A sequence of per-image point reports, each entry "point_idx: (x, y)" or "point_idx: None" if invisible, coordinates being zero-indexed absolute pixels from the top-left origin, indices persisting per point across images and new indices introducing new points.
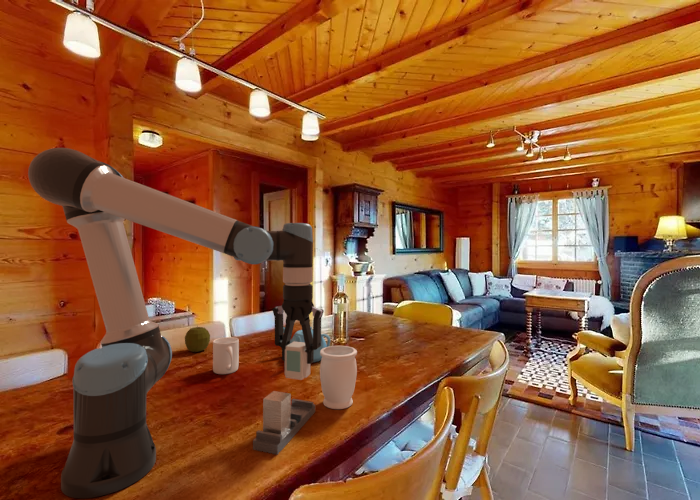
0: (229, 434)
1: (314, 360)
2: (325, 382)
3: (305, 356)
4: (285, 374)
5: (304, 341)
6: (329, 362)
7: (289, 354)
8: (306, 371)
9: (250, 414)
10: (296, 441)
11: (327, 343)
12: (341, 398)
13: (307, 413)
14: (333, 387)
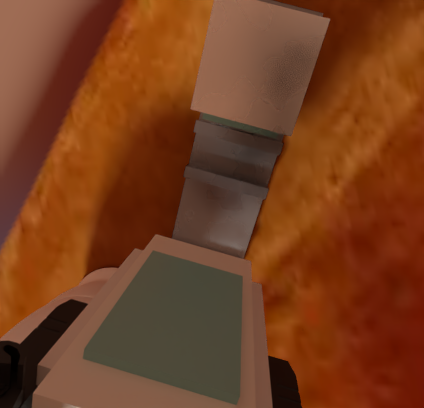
0: (417, 107)
1: None
2: None
3: (70, 332)
4: (256, 285)
5: None
6: None
7: (211, 353)
8: (120, 270)
9: (372, 234)
10: (190, 85)
11: None
12: (83, 284)
13: (178, 210)
14: (85, 301)
